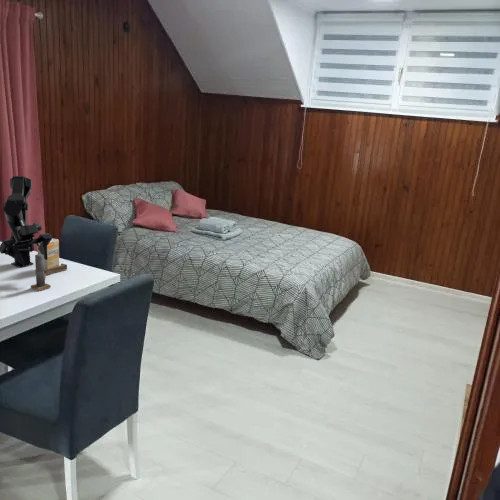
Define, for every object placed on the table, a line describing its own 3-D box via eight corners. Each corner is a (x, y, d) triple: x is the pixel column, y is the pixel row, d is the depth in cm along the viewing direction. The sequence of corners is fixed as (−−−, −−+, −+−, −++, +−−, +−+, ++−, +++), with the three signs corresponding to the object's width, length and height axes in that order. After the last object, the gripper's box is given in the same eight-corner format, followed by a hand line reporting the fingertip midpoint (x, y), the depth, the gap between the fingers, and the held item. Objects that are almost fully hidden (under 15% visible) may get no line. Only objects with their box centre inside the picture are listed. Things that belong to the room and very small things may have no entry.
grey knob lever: (13, 280, 184) (12, 249, 181) (62, 267, 203) (61, 239, 200) (39, 290, 177) (37, 258, 173) (87, 276, 196) (86, 246, 192)
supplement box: (48, 274, 195) (47, 243, 192) (37, 272, 196) (36, 242, 193) (60, 268, 203) (59, 239, 199) (50, 266, 204) (49, 237, 200)
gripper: (0, 219, 170) (18, 255, 167) (48, 213, 185) (65, 246, 182) (-9, 235, 177) (8, 270, 173) (38, 228, 191) (55, 261, 188)
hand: (35, 261), depth 179 cm, fingers open, 9 cm apart
